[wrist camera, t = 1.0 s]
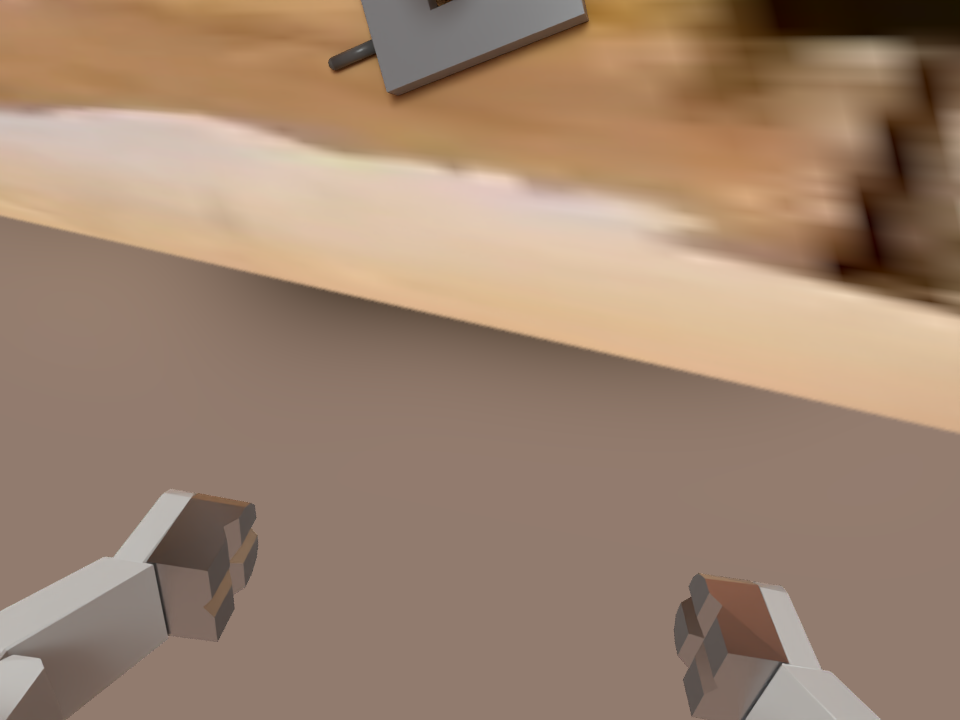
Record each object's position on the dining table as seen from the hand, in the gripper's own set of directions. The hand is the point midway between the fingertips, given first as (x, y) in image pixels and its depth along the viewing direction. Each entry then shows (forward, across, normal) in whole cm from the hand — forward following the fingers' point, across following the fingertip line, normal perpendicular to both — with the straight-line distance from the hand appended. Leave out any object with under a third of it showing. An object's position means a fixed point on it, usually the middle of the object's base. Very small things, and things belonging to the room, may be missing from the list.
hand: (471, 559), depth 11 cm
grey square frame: (+46, +8, -10) cm, 48 cm away
